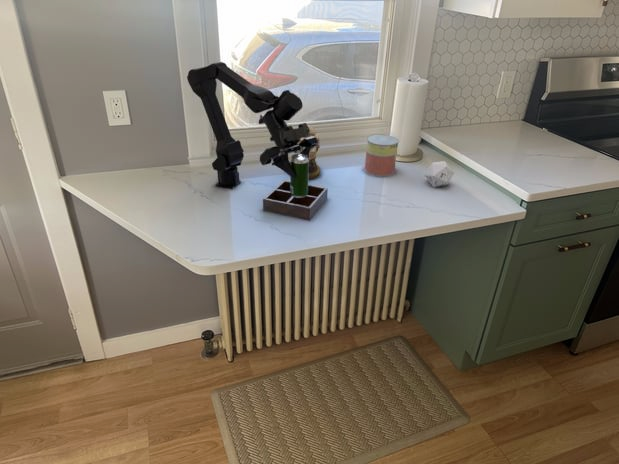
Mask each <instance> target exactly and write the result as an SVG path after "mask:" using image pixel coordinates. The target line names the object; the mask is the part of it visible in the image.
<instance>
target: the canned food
mask: <svg viewBox="0 0 619 464" xmlns="http://www.w3.org/2000/svg"><path fill="white" fill-rule="evenodd" d="M399 141H400V140H399V139H398V138H397V137H395V136H393V135H388V134H372V135H369V136H368V137H367V138H366V149H365V150H366V151H365V161H364V162H365V163H364V171H365V173H367V174H368V175H371V176H374V177H390V176H393V175H394V174H395V173H396V163H397V154H398V147H399Z"/></svg>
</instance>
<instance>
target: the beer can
mask: <svg viewBox="0 0 619 464" xmlns="http://www.w3.org/2000/svg"><path fill="white" fill-rule="evenodd" d="M290 162H291V166H292V168H293V170H294V172H295V174H296V178H295V179H293V178H292V177H291V176H290V175H289V177H290V178H289V179H290V180H289V181H290V193H291V195H292V196H293V197H296V198H303V197H306V196H307V194H308V185H309V181H310V180H309V159H308V156H307V155H305V154H297V153H294V154H292V155H291V157H290Z"/></svg>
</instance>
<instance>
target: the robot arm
mask: <svg viewBox="0 0 619 464" xmlns="http://www.w3.org/2000/svg"><path fill="white" fill-rule="evenodd" d="M186 79H187V82H188V84H189V86H190V88H191V90H192V92H193V93H194V94H195V95H196V96H197V97H199V98H200V100H201V103H202V105H203V108H204V111H205V113H206V116H207V119H208V121H209V124H210V127H211V130H212V132H213V135H214V137H215V141H216V146H215V154H216V158H215V160H214V161H212V163H211V166H212V169H213V170H214V171H216V172H217V183H215V186H216V187H219V188H226V189H231V190H233V189H234V188H235V187H237V186H238V185H239V184H240V183H242V182H241V180H240V172H239V169H238V167H240V166H241V165H242V163H243V159H244V157H245V156H244V152H245V150H244V149H243V147H242V143H241V141H240V140H239V139H238V140H236V139H235V138H233V136H232V134H231V131H230V129H229V126H228V123H227V121H226V118H225V116H224V115H225V114H224V113H223V110H222V107H221V104H220V102H219V99H218V96H217V87H218V83H217V80H218V81H219V82H220V83H222V84H223V85H225V86H226V87H227V88H229V89H230V90H231V91H233V92H235V93H236V94H237V95H238V96H240V97H241V99H243V102H244V104H245V106H247V108H248V109H249V110H250V111H252V113H254V114H259V113H263V112H265V113H263V114H260V115H259V119H258V125H263V124H265V127H266V128H267V130H268V132H269V135H270V136H271V137H270V138H269V140H270V142H273V143H274V144H275V146H271V147H267V148H265V149H264V151H263V152H262V153H261V154H260V155H259V162H260V164H261V165H262V166H267V165H269V164H271V165H272V166H275V167H277V168H278V169H279V170H282V171H283V172H284V173H285V174H287V175H288V176H289V177H290V176H291V177H292V178H293V179H295V178H296V174H295V172H294V170H293V168H292V166H291V164H290V162H291V161H290V160H289V154H291V153H293V152H297V153H296V154H305V155H307V156H308V159H309V152H310V151H311V150H312V149H313V148H314V147H315V146H316V145H317V144H318V143H319V144H320V141H319V142H318V140H317V138H316V137H314V136H311V137H307V135H306V134H308V133H310V130H309V127H308V126H309V125H308V124H307V122H303V123H300V124H299V123H298V127H296V128H293V126H292V125H288V123H287V121H288V122H289V121H290V120H291V119H293V117H295V115H296V114H298V112H300V111H301V110H302V108H303V102H302V99H301V98H300V97H299V96H298V95H296V94H295V93H293V92H291V91H290V89H285V90H283V91H282V92H281V94H280V95H279V96H278V95H276V94H274V93H273V91H271V90H270V89H268V88H265V87H263V86H260V85H256V84H253V83H251V82H250V81H248V80H247V79H245V78H244V77H243V76H241V74H239V73H238V72H236V71H234V70H233V69H231V68H230V67H229V66H228V65H227V64H226V62H223V61H218V62H213V63H211V64H209V65H207V66H202V67H197V68H191V69H190V70H189V71H188V73H187V76H186ZM306 137H307V138H306ZM300 138H304V139H303V140H302V141H301V142H300V143H299V144H297V142H299V141H300ZM293 148H294V149H293ZM310 173H311V169H310V161H309V174H310Z"/></svg>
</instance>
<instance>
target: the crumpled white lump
mask: <svg viewBox="0 0 619 464" xmlns="http://www.w3.org/2000/svg"><path fill="white" fill-rule="evenodd" d="M454 174H455V172H454V170H453V169H452V167H450V165H449V164H448V163H447V162H446V160H443V161H436V162H431V164H430V165H429V167H428V169H427V170H426V172H425V174H424V177H425V178H426V179H427V181H428V182H429V184H430V185H431V186H432V187H433V188H437V187H444V186H447V185H448V183H449V182H450V180H451V179H452V177H453V176H454Z"/></svg>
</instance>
